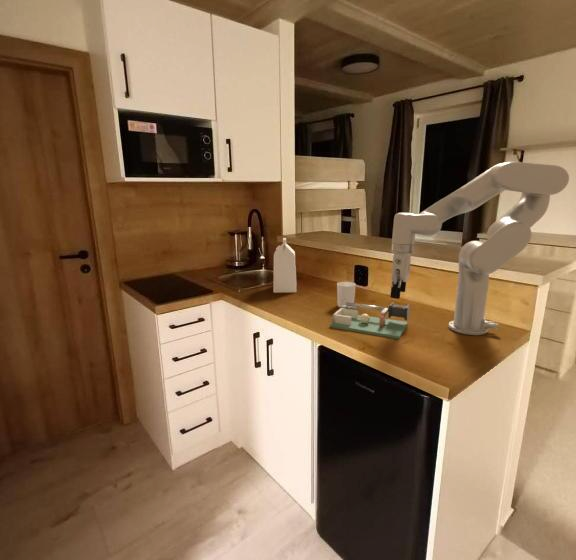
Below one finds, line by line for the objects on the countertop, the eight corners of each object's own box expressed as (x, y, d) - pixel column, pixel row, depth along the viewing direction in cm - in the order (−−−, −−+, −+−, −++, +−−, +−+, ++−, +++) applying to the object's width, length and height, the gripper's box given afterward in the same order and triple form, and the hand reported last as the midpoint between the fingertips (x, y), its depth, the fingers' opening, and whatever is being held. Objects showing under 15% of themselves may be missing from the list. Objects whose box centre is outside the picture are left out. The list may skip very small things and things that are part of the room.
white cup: (340, 309, 152) (341, 287, 149) (333, 304, 159) (334, 282, 157) (357, 308, 154) (358, 285, 151) (350, 302, 161) (350, 281, 159)
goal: (357, 317, 139) (358, 310, 138) (350, 325, 131) (350, 317, 131) (340, 315, 142) (340, 307, 141) (332, 322, 135) (332, 314, 134)
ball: (370, 322, 134) (371, 313, 133) (368, 325, 131) (368, 316, 130) (361, 320, 136) (361, 311, 135) (358, 323, 133) (358, 314, 132)
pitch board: (407, 324, 134) (408, 313, 133) (399, 339, 121) (400, 326, 120) (343, 314, 146) (343, 304, 144) (330, 327, 133) (330, 315, 132)
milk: (296, 292, 178) (296, 240, 172) (273, 292, 179) (272, 240, 172) (296, 286, 190) (296, 237, 184) (274, 286, 190) (273, 237, 184)
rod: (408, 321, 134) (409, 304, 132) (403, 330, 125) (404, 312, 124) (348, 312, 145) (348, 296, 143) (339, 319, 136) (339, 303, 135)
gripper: (408, 253, 118) (403, 302, 122) (417, 246, 132) (412, 290, 137) (385, 250, 121) (381, 299, 125) (396, 244, 136) (392, 287, 140)
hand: (397, 294), depth 131 cm, fingers open, 9 cm apart
